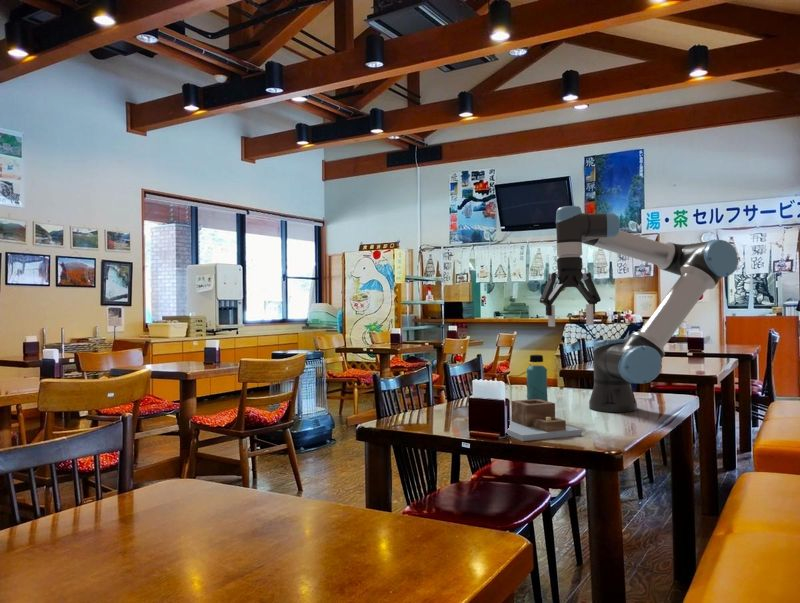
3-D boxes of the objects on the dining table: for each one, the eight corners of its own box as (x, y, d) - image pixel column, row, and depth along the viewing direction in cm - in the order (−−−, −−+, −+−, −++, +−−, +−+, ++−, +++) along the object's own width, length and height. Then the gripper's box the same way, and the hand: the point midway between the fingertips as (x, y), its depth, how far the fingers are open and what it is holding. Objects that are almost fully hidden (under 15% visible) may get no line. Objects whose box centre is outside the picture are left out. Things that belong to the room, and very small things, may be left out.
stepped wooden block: (511, 421, 180) (511, 400, 180) (538, 419, 182) (538, 398, 182) (541, 432, 164) (540, 409, 164) (570, 429, 167) (570, 407, 167)
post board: (544, 422, 184) (543, 401, 184) (581, 435, 166) (580, 411, 166) (490, 427, 179) (489, 405, 179) (522, 441, 161) (521, 416, 161)
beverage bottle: (547, 417, 193) (545, 353, 193) (550, 421, 186) (548, 355, 186) (525, 417, 193) (524, 354, 193) (528, 421, 187) (526, 355, 187)
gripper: (596, 258, 196) (598, 324, 196) (527, 257, 189) (529, 326, 189) (611, 256, 189) (612, 324, 189) (540, 255, 182) (541, 327, 182)
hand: (571, 325), depth 189 cm, fingers open, 13 cm apart
